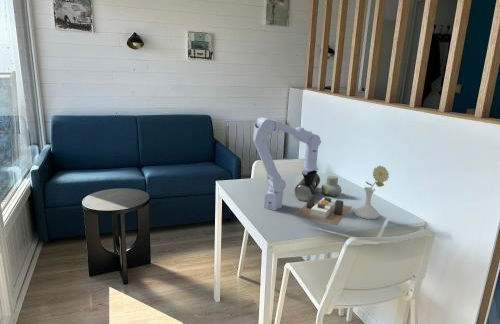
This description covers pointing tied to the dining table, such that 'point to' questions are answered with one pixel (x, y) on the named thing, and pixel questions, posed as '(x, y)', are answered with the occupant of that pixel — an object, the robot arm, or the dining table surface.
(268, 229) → the dining table surface
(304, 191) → the muzzle brake
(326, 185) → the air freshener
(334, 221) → the breaker panel
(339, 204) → the post
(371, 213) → the flower in vase
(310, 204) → the post
